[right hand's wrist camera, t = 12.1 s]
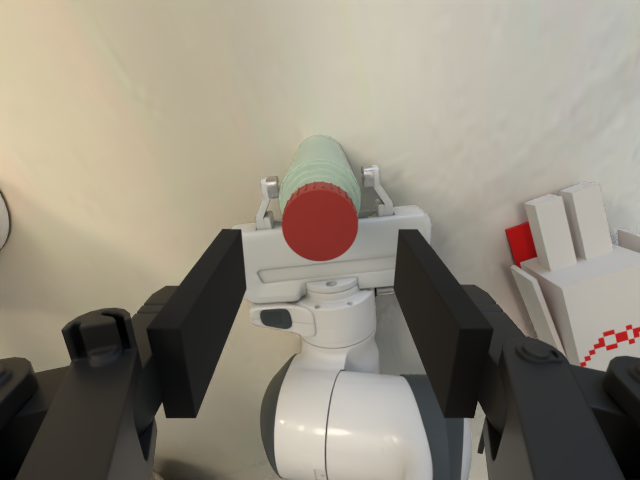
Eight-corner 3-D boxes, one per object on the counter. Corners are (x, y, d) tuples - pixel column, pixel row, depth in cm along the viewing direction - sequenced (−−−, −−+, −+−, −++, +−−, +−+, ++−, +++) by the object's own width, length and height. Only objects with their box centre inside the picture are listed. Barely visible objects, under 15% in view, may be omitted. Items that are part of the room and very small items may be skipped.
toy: (672, 176, 29) (714, 451, 36) (570, 168, 42) (615, 371, 49) (527, 225, 31) (592, 479, 38) (472, 203, 44) (527, 395, 50)
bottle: (285, 154, 38) (247, 213, 18) (325, 124, 37) (333, 151, 17) (314, 193, 40) (308, 287, 20) (353, 166, 39) (390, 235, 19)
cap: (269, 208, 20) (264, 218, 18) (328, 165, 19) (329, 172, 17) (311, 261, 21) (311, 275, 19) (369, 223, 20) (374, 235, 18)
